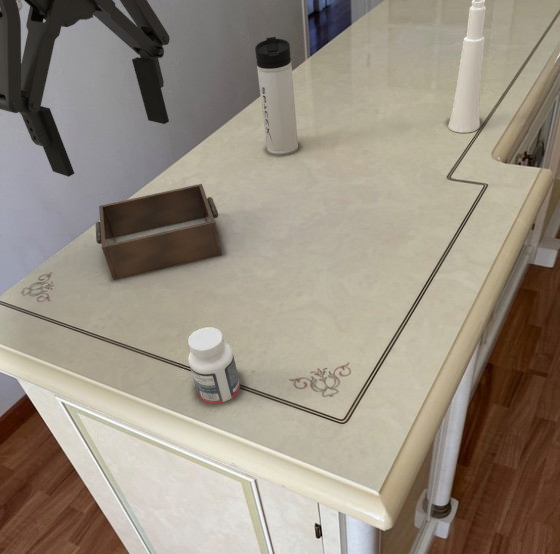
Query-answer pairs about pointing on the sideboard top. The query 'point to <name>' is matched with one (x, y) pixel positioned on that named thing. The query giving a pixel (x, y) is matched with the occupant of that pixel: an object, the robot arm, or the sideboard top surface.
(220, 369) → the pill bottle
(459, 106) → the cosmetic bottle
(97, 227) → the brown wooden open box
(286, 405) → the sideboard top surface
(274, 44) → the travel mug
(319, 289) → the sideboard top surface
